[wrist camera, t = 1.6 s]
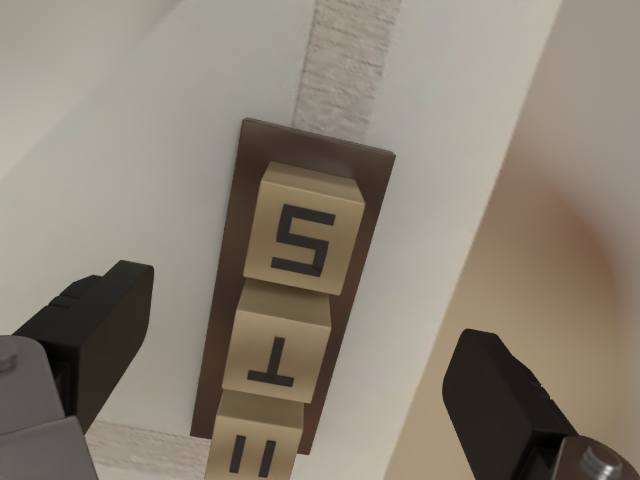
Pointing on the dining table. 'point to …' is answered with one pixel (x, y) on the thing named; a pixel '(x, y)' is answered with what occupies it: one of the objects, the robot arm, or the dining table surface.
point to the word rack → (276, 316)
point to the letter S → (304, 228)
